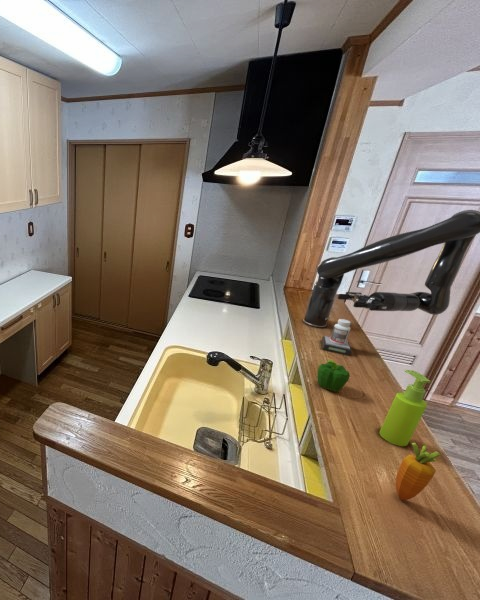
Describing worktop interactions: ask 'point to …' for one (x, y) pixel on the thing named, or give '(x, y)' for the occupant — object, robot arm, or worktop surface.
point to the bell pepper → (332, 376)
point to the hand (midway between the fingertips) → (346, 300)
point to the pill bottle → (341, 332)
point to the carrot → (415, 473)
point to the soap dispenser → (405, 412)
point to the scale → (335, 346)
